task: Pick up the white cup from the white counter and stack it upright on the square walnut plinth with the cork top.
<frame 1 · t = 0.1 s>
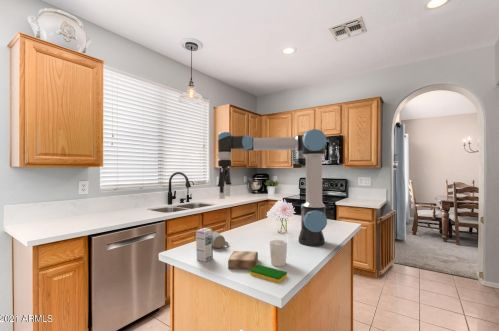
hand: (225, 197, 140), 28 cm above the counter, fingers open, 13 cm apart
walnut plinth: (243, 263, 114), on the counter
syrup box: (204, 259, 121), on the counter
dish sponge: (268, 277, 102), on the counter
white cup: (278, 264, 114), on the counter
ceramic mug: (219, 246, 141), on the counter
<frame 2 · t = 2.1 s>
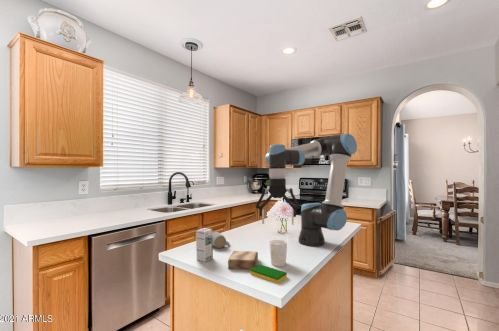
hand: (277, 223, 114), 18 cm above the counter, fingers open, 13 cm apart
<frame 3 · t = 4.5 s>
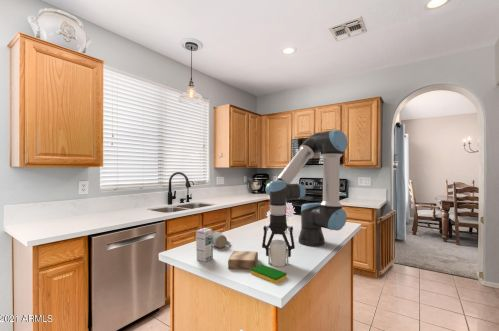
hand: (278, 263, 114), 0 cm above the counter, fingers closed on white cup, 8 cm apart
white cup: (278, 264, 114), on the counter, touching gripper
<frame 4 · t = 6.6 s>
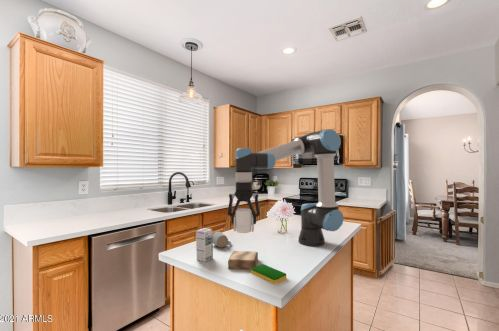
hand: (243, 230, 114), 15 cm above the counter, fingers closed on white cup, 8 cm apart
white cup: (243, 231, 114), point 15 cm above the counter, touching gripper
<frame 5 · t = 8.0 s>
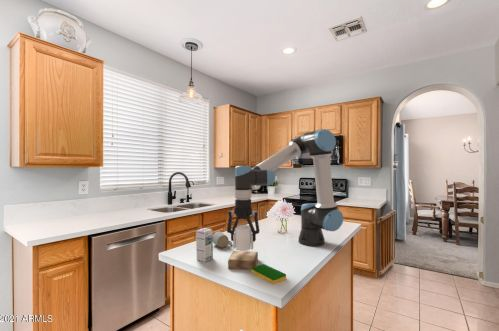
hand: (243, 248, 114), 7 cm above the counter, fingers closed on white cup, 8 cm apart
white cup: (243, 249, 114), point 7 cm above the counter, touching gripper
when the fingers open (5 cm above the counter, at t = 8.9 s): white cup moves 1 cm, resting on walnut plinth.
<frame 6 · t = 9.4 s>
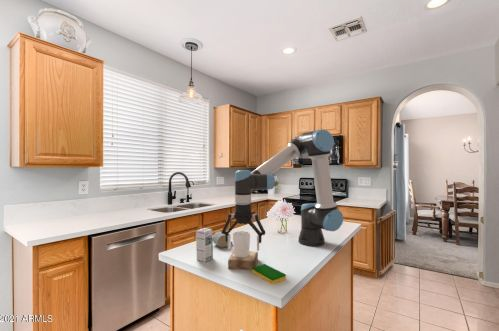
hand: (243, 249, 114), 7 cm above the counter, fingers open, 13 cm apart
white cup: (241, 255, 114), point 4 cm above the counter, touching walnut plinth
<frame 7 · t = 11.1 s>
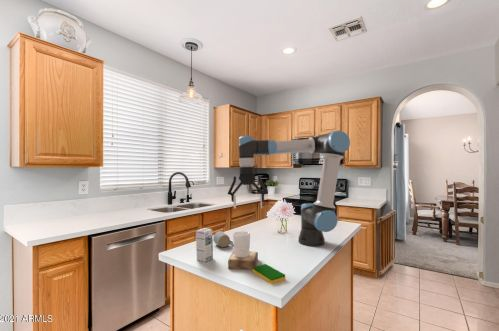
hand: (248, 208, 126), 24 cm above the counter, fingers open, 13 cm apart
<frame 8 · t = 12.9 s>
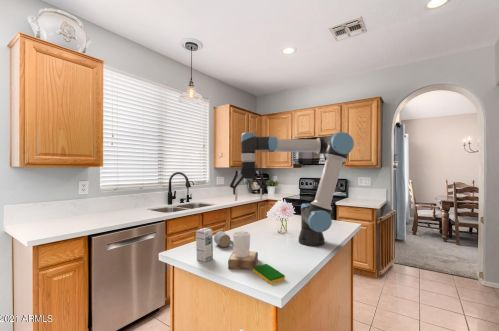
hand: (248, 200, 133), 27 cm above the counter, fingers open, 13 cm apart
at the end: white cup inside the target area on the walnut plinth (0.8 cm from its centre), point 3.8 cm above the walnut plinth's base; white cup tilted 0°; the gripper is holding nothing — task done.
